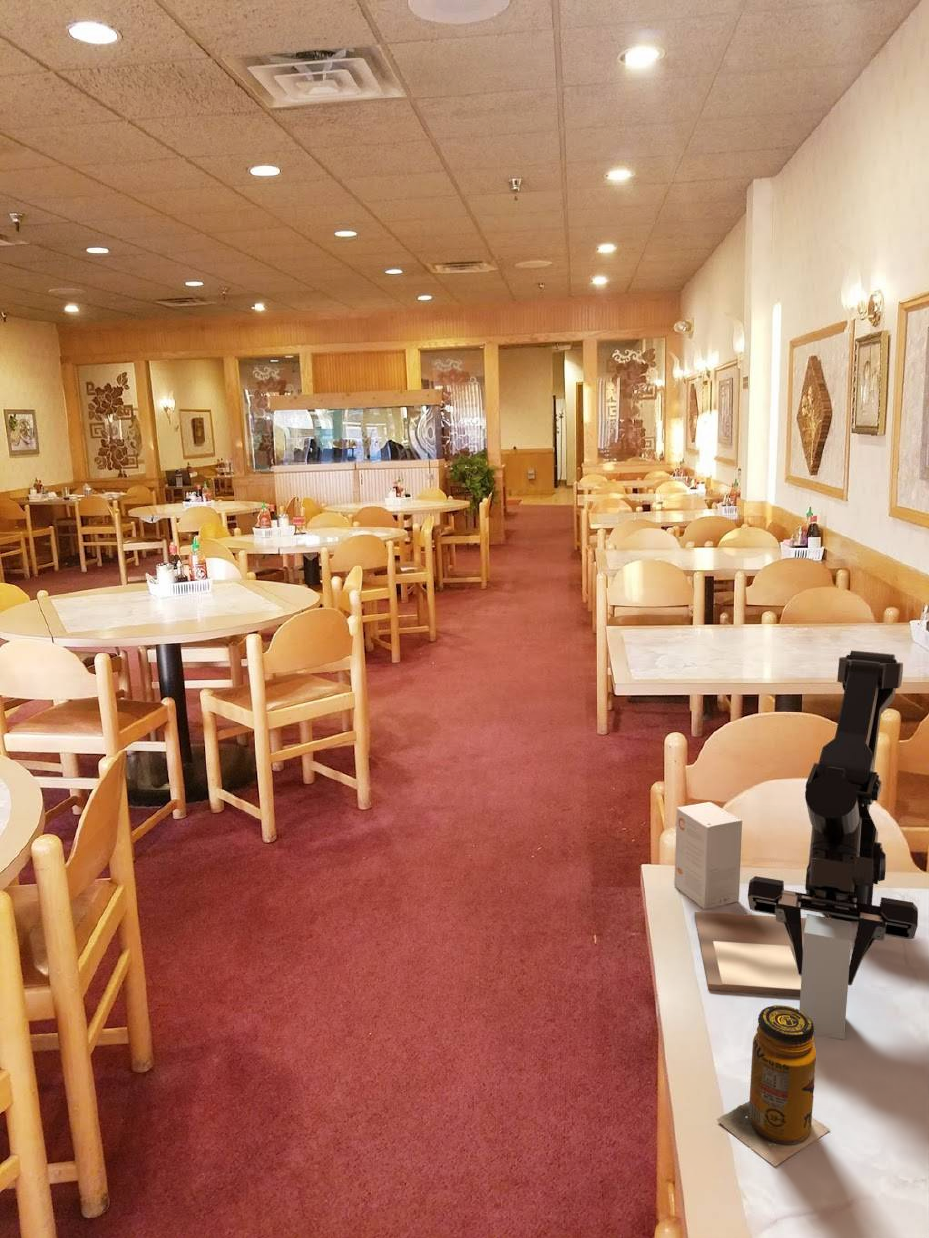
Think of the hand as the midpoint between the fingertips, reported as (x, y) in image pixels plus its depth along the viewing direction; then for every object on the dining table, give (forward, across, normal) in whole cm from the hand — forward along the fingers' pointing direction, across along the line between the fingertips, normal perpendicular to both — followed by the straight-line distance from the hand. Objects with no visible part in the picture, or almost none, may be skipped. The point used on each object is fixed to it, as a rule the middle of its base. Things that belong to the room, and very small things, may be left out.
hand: (824, 979), depth 108 cm
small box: (-15, -18, +25) cm, 34 cm away
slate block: (+4, 0, +6) cm, 7 cm away
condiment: (+18, -4, -8) cm, 20 cm away
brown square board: (-5, -8, +14) cm, 17 cm away
